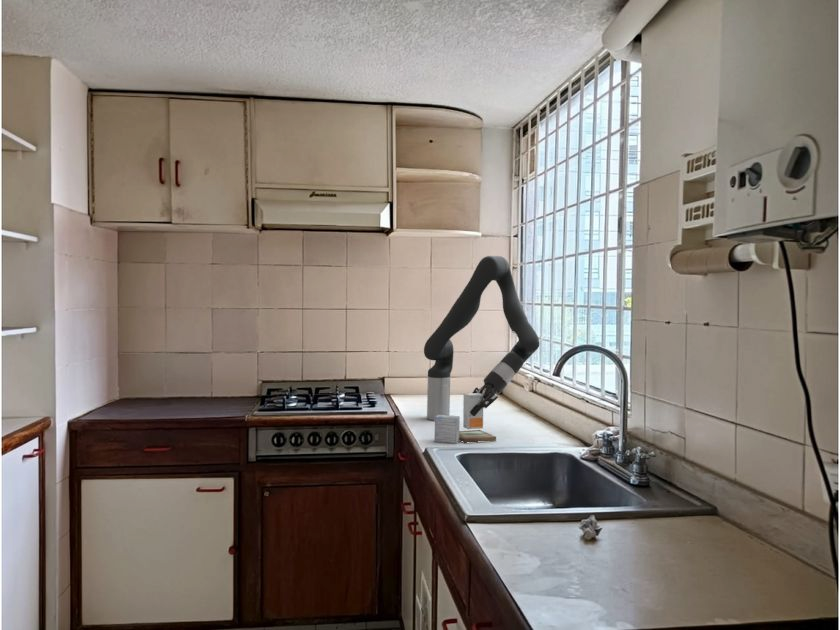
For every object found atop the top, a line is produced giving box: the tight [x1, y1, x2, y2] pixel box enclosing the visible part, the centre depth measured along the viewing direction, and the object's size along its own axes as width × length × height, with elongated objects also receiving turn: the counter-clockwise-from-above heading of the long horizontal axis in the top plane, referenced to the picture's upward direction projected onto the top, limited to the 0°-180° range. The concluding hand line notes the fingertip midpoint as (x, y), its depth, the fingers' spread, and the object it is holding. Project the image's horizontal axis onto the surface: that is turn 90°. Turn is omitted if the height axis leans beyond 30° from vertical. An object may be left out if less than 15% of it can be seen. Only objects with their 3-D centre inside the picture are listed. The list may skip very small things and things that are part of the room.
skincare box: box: [462, 392, 484, 430], centre depth 215 cm, size 6×4×12 cm
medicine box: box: [433, 414, 461, 444], centre depth 210 cm, size 8×4×9 cm, turn 74°
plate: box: [459, 429, 497, 444], centre depth 215 cm, size 12×12×2 cm
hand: (468, 413), depth 215 cm, fingers closed on skincare box, 4 cm apart
